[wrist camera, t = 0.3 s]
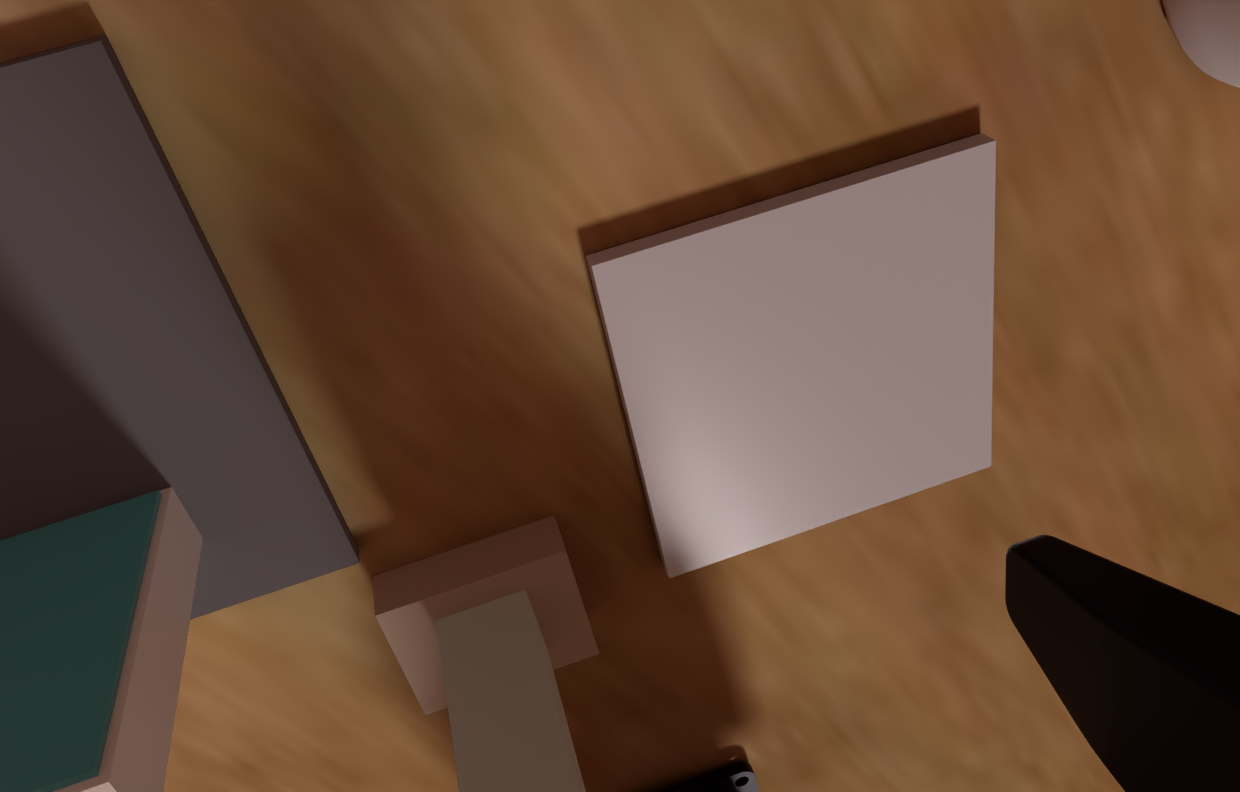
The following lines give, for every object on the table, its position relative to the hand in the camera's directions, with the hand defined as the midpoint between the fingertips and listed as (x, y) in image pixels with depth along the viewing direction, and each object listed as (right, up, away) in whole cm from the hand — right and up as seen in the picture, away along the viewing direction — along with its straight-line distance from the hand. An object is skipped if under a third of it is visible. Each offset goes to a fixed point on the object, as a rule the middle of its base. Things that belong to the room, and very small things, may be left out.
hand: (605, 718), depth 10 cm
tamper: (-4, -2, +17) cm, 18 cm away
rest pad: (+5, +4, +16) cm, 17 cm away
